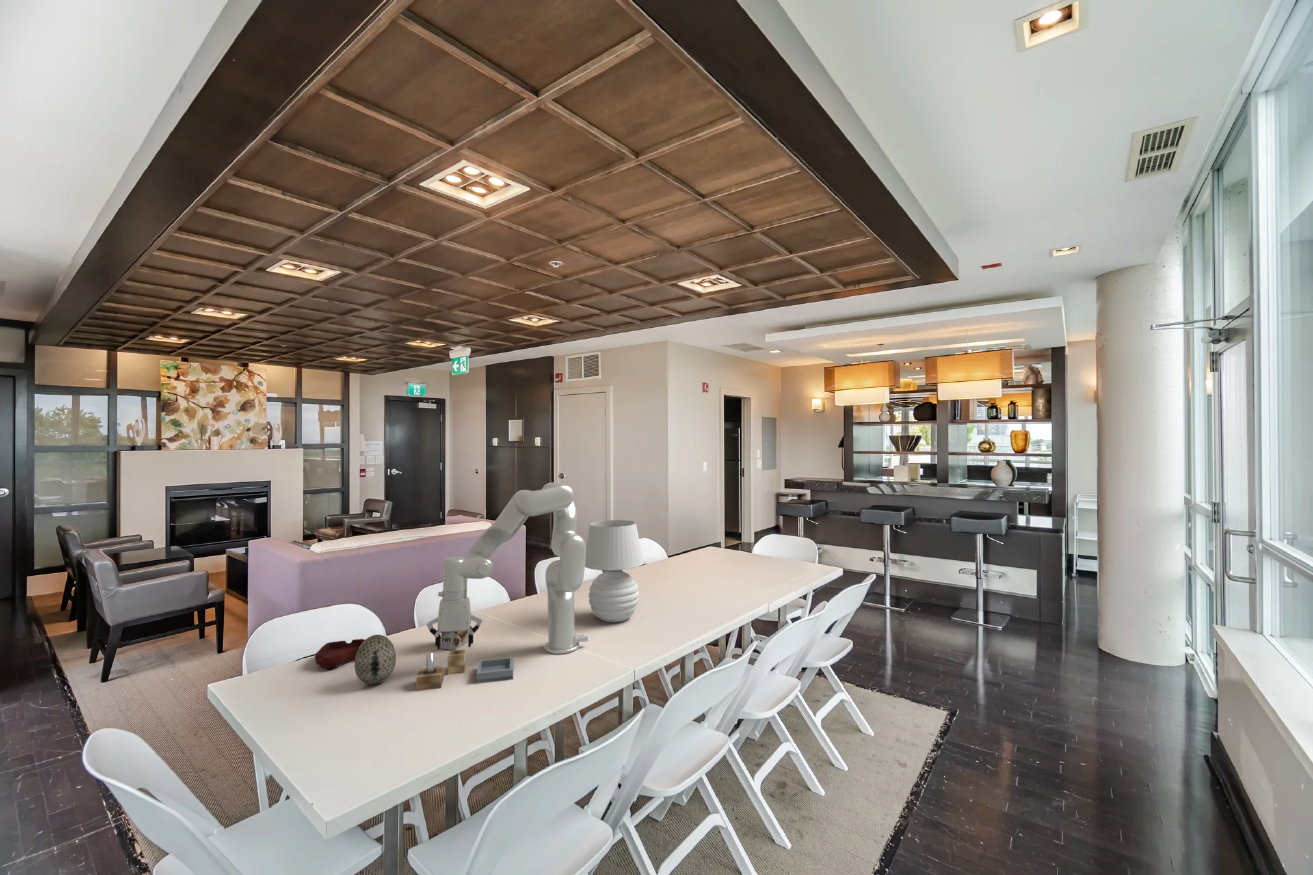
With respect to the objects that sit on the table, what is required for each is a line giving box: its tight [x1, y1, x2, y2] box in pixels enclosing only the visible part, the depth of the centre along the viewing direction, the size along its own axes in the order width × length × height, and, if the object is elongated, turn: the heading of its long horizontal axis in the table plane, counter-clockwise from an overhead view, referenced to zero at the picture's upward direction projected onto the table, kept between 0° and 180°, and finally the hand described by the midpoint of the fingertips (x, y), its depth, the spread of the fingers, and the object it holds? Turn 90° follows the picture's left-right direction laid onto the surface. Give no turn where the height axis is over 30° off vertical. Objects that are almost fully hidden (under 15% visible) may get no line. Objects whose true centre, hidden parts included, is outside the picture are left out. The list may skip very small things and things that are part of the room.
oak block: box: [447, 648, 467, 675], centre depth 189 cm, size 5×5×6 cm
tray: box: [476, 656, 514, 684], centre depth 186 cm, size 11×11×3 cm
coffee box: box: [440, 630, 469, 651], centre depth 213 cm, size 9×6×16 cm
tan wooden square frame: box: [415, 665, 445, 692], centre depth 179 cm, size 7×7×4 cm
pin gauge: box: [425, 650, 435, 674], centre depth 179 cm, size 2×2×10 cm
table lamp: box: [585, 519, 645, 623], centre depth 241 cm, size 25×25×40 cm
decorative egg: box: [354, 634, 397, 685], centre depth 181 cm, size 12×12×15 cm
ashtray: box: [314, 638, 366, 671], centre depth 201 cm, size 18×16×5 cm
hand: (454, 646), depth 189 cm, fingers open, 9 cm apart
